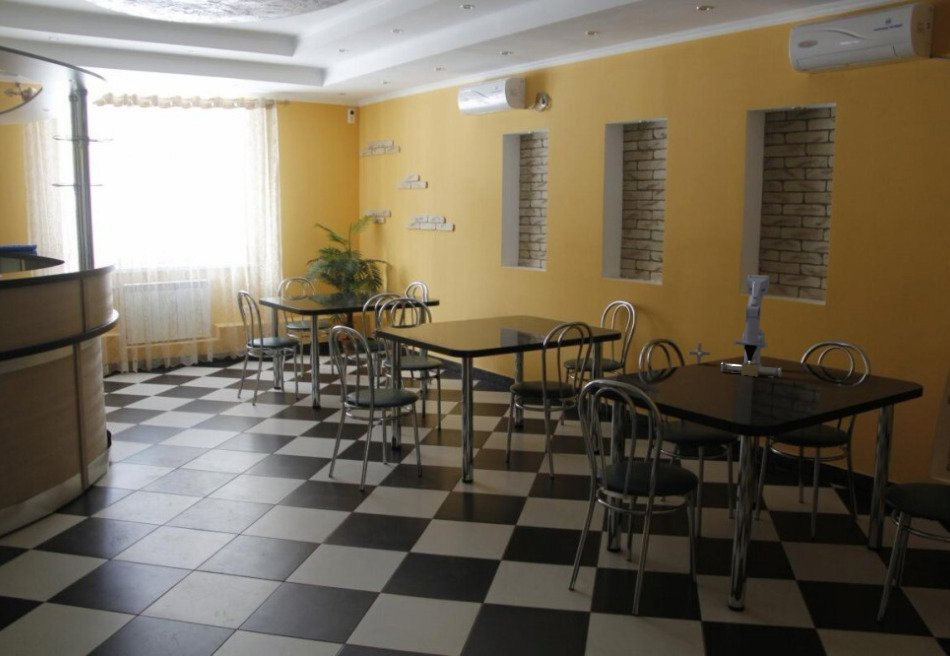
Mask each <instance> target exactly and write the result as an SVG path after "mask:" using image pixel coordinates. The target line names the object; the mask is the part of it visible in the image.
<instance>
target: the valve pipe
mask: <svg viewBox="0 0 950 656" xmlns="http://www.w3.org/2000/svg"><path fill="white" fill-rule="evenodd" d="M760 364H761V363H760ZM760 364H758V363H755V364H748V363H747V362H744V361H743V363H741V364H740V363H734V362H733V363H732V362H725V361H721V362H720V371H721V372H724V371H725V372H731V374H732V373H737V372H738V373H741V374H740V375H741V376H744V375H748V376H747V377H753V376H755V378H757V377H758V378H759V376H760V375H765V376H768V378H769V377H771V378H772V379H774V378H775V377H777V378H781V377H782V370H783V369H782V366H781V367H779V366H778V367H773V366H772V367H771V366H763V365H762V366H760ZM738 373H737V374H738ZM759 374H760V375H759ZM758 375H759V376H758Z"/></svg>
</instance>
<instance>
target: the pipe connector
mask: <svg viewBox="0 0 950 656" xmlns="http://www.w3.org/2000/svg"><path fill="white" fill-rule="evenodd" d="M687 354H688V355H689V356H690V355H691V356H692V355H693V356H696V362H695V363H696V364H701V360H702V359H701V358H703V357H704V356H710V355H711V351H706V350H702V342H697V347H696V349H694V350H688V352H687Z"/></svg>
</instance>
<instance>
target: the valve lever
mask: <svg viewBox="0 0 950 656" xmlns="http://www.w3.org/2000/svg"><path fill="white" fill-rule="evenodd" d="M757 360H758V357H753V358H752V360H750V361H748V364H755V361H757Z"/></svg>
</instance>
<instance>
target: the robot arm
mask: <svg viewBox="0 0 950 656" xmlns="http://www.w3.org/2000/svg"><path fill="white" fill-rule="evenodd" d="M746 282H747V283H746V287H747V288H746V289H747V293H748V294H750V296H749V297H748V299H747V300H748V301H747V306H746V307H745V312H744V313H745V329H744V331H743V334H742V339H735V340H734V345H735V346H736V345H739V346H742V347H743V350H744V358H743V363H744V362H747V363H748V361H750V360H752V358H753V357H758V360H757V361H755V363H758V364H760V366H763V364H762V363H761V355H762V353H761V352H762V350H761V349H763V348H768V345H769V344H768V342H765V338H766V337H765V334H766V333H765V331H764V330H763V329H762V328H760V324H761V316H762V302H763V298H764V296H765V295H767V294H768V293H769V287H770V276H769V274H768V275H764V274H763V275H761V274H748V275H747V281H746Z"/></svg>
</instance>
